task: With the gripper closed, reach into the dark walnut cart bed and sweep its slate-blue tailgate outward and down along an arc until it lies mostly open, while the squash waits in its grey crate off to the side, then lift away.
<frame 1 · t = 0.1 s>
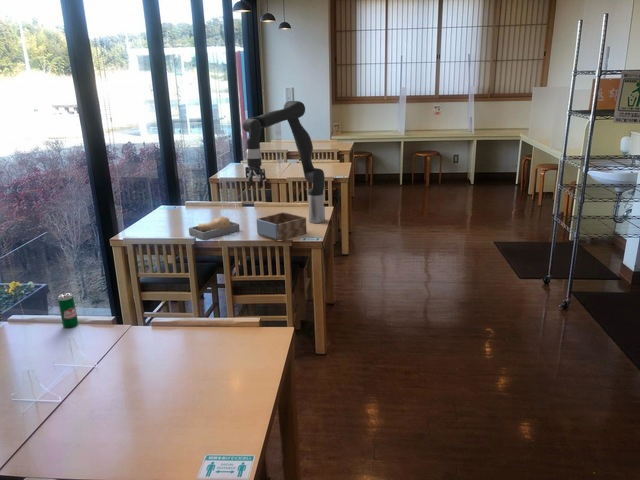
hand: (256, 186, 272), 29 cm above the table, tool pointing down, fingers open, 8 cm apart
tailgate: (267, 228, 277), point 6 cm above the table, hinge at 0.0°
soda can: (71, 325, 182), on the table
cart bed: (282, 234, 286), on the table
squash: (214, 232, 293), resting in squash crate
squash crate: (214, 232, 293), on the table
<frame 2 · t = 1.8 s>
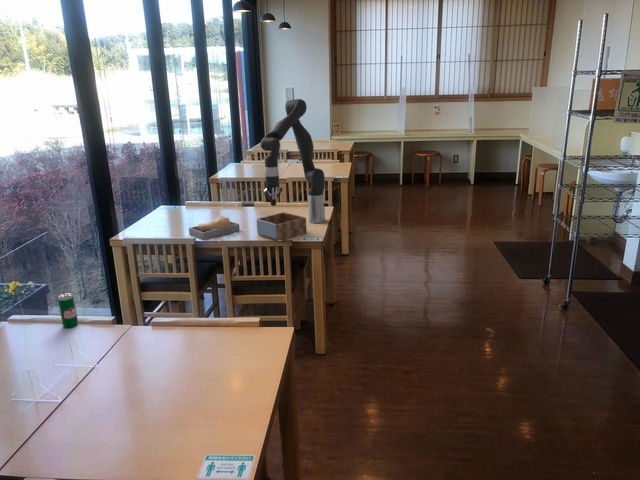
hand: (273, 205, 277), 18 cm above the table, tool pointing down, fingers closed
nothing on the table moved.
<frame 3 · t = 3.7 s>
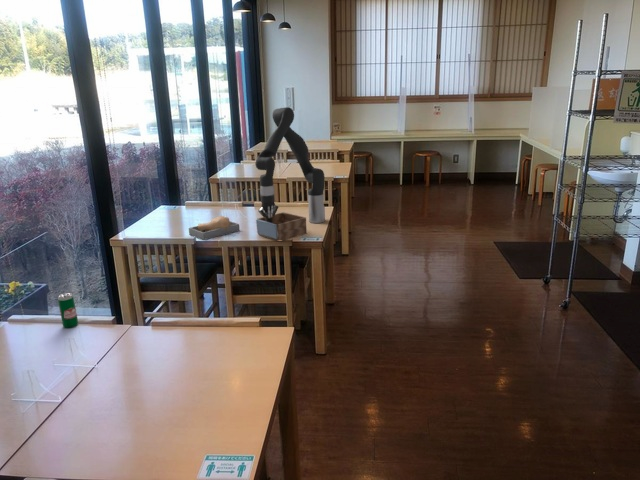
hand: (269, 224, 278), 8 cm above the table, tool pointing down, fingers closed
tailgate: (266, 228, 277), point 5 cm above the table, hinge at 1.9°, touching gripper
everything else where it was.
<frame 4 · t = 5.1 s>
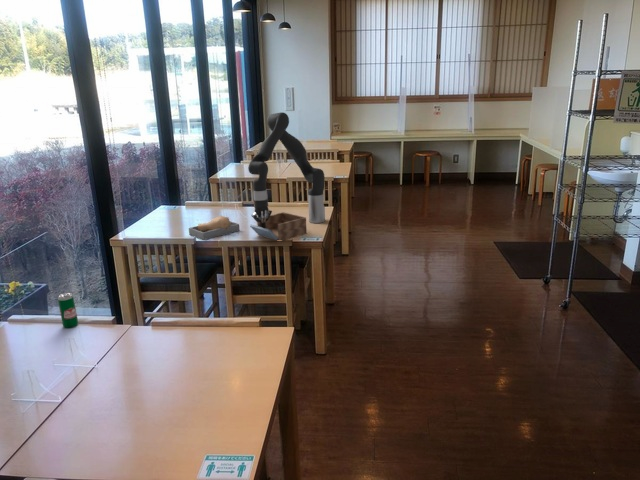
hand: (263, 228, 275), 6 cm above the table, tool pointing down, fingers closed
tailgate: (263, 232, 276), point 4 cm above the table, hinge at 40.6°, touching gripper
everything else where it was.
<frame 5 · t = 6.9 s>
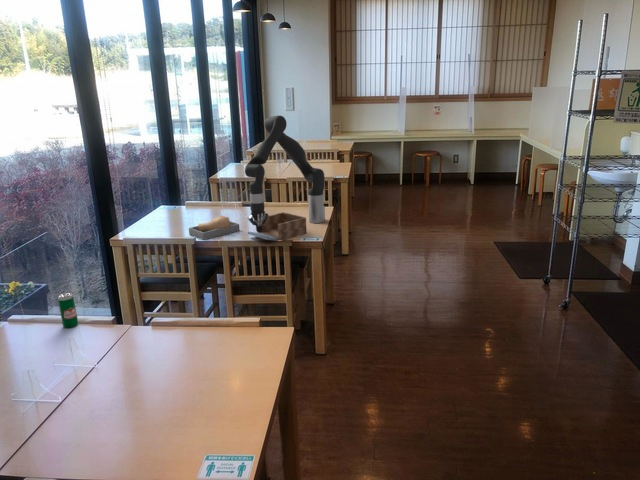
hand: (259, 232, 274), 5 cm above the table, tool pointing down, fingers closed
tailgate: (262, 236, 276), point 2 cm above the table, hinge at 73.2°
everything else where it was.
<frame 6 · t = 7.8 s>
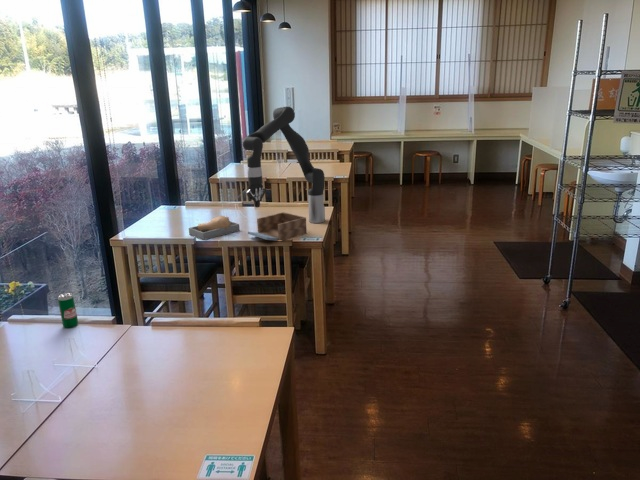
hand: (257, 207, 269), 19 cm above the table, tool pointing down, fingers closed
nothing on the table moved.
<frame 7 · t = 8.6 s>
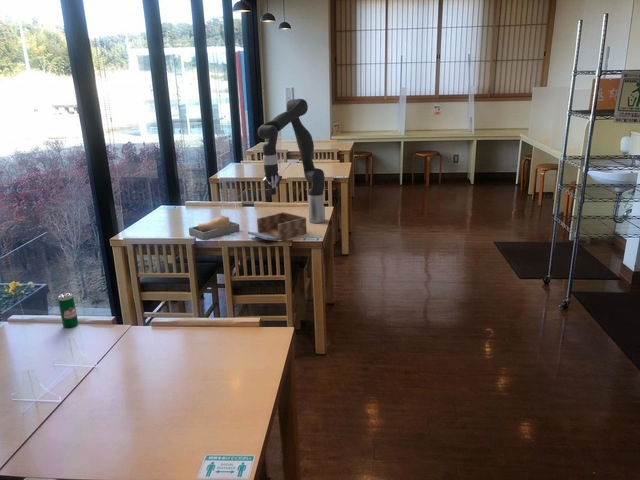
hand: (273, 194, 273), 24 cm above the table, tool pointing down, fingers closed
nothing on the table moved.
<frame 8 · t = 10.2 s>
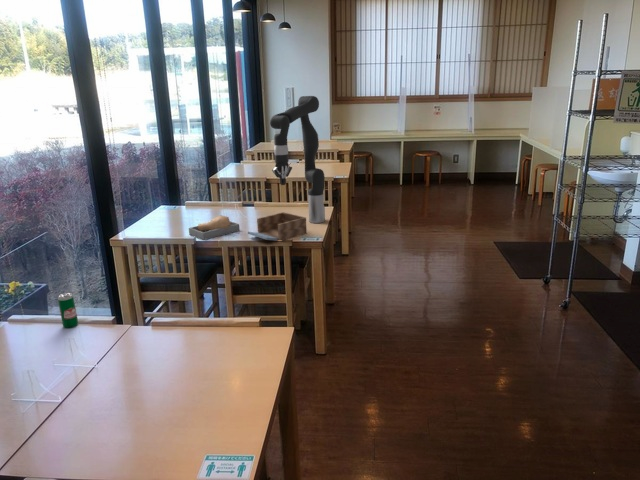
hand: (283, 184, 275), 29 cm above the table, tool pointing down, fingers closed
nothing on the table moved.
at the end: tailgate at +73° (first picture: +0°) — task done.
